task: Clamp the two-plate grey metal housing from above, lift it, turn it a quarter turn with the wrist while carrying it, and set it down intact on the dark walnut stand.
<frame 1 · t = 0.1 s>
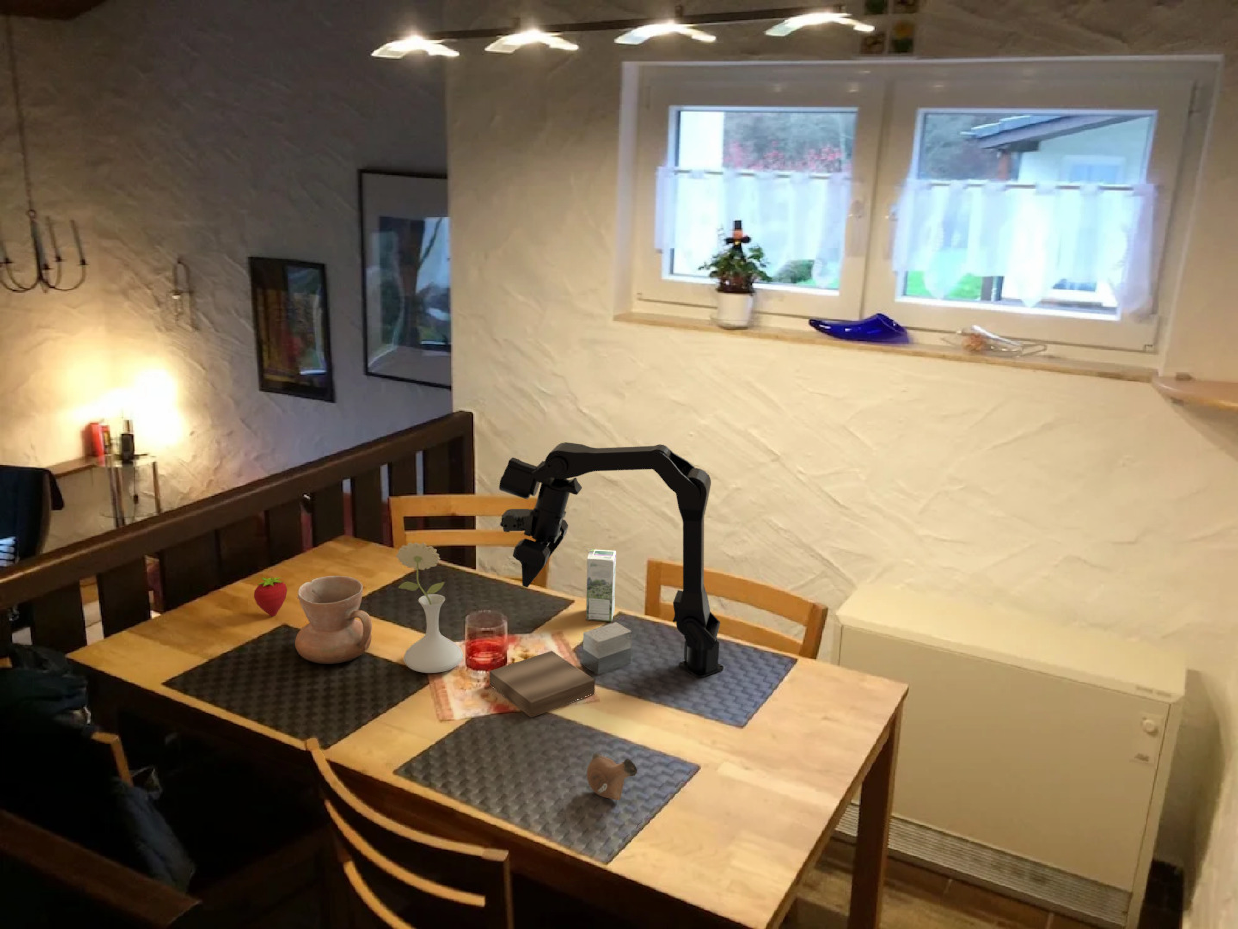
hand: (531, 577, 203), 15 cm above the table, tool pointing down, fingers open, 9 cm apart
stand: (541, 689, 191), on the table
housing: (606, 664, 201), on the table
ceramic jug: (336, 655, 203), on the table
flower in vase: (430, 664, 200), on the table
strawberry: (272, 616, 218), on the table
syrup box: (600, 616, 222), on the table
oil lamp: (610, 799, 160), on the table
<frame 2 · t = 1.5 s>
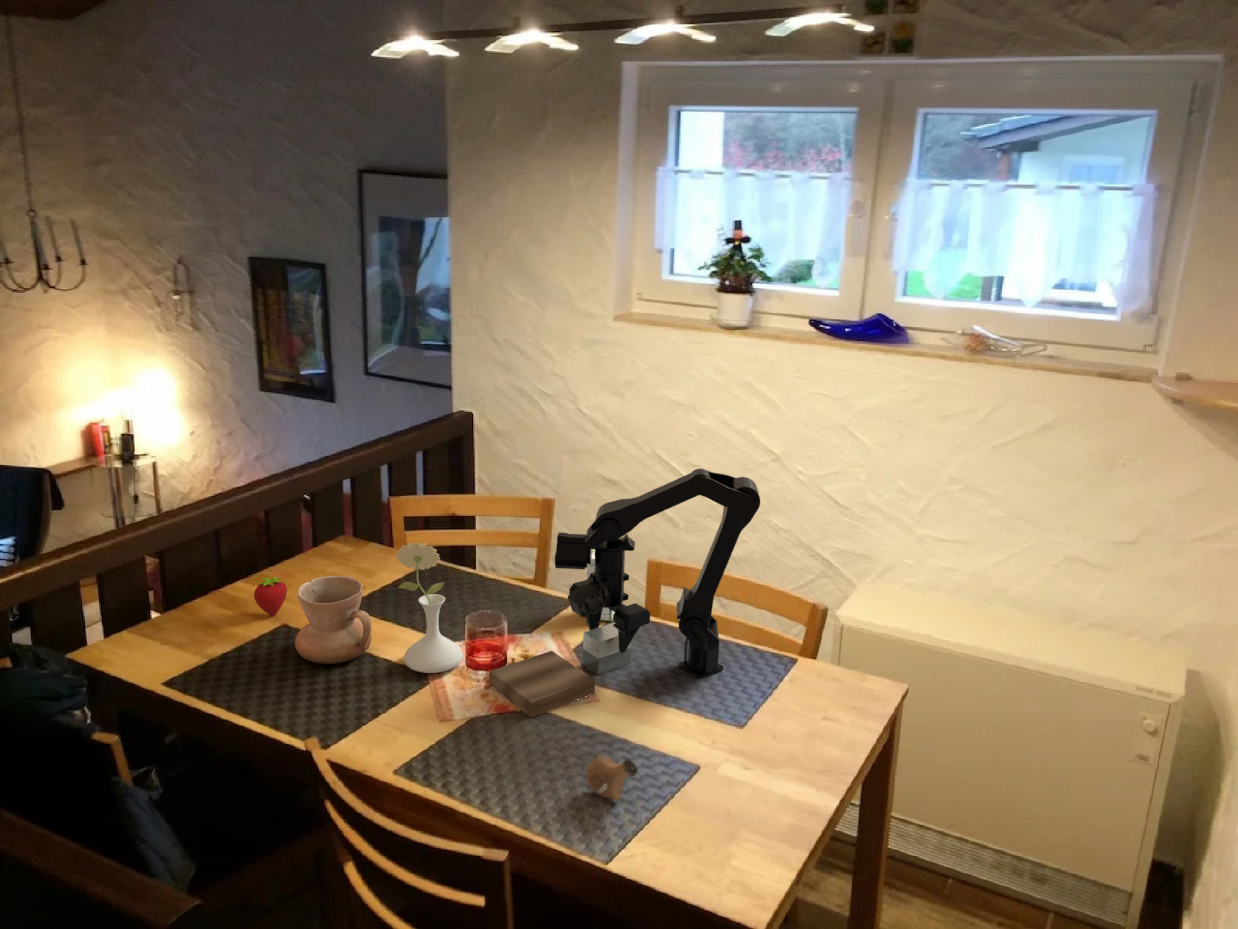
hand: (607, 643, 200), 4 cm above the table, tool pointing down, fingers open, 9 cm apart
nothing on the table moved.
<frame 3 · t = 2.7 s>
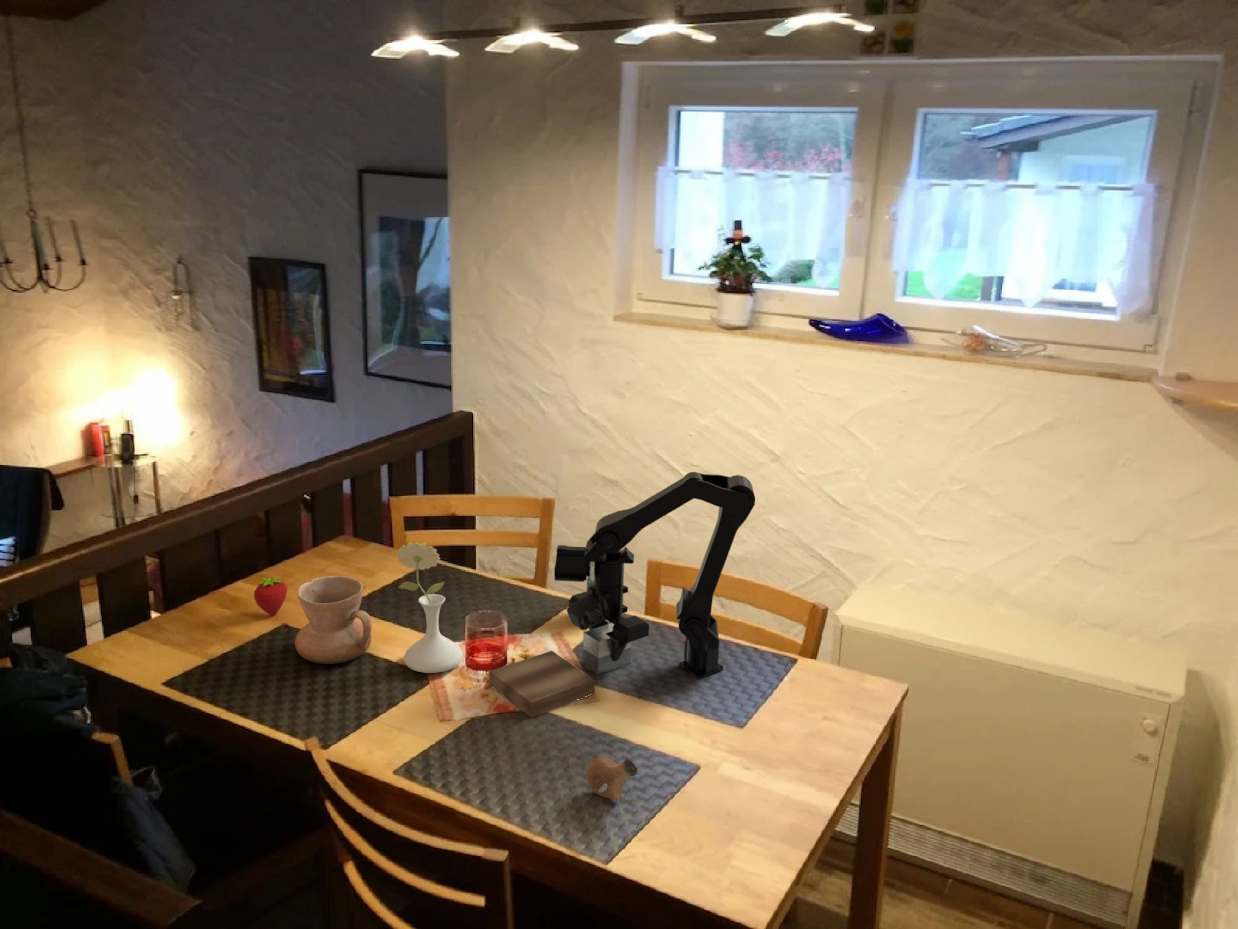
hand: (607, 655, 201), 2 cm above the table, tool pointing down, fingers closed on housing, 5 cm apart
housing: (606, 664, 201), on the table, touching gripper
everything else where it was.
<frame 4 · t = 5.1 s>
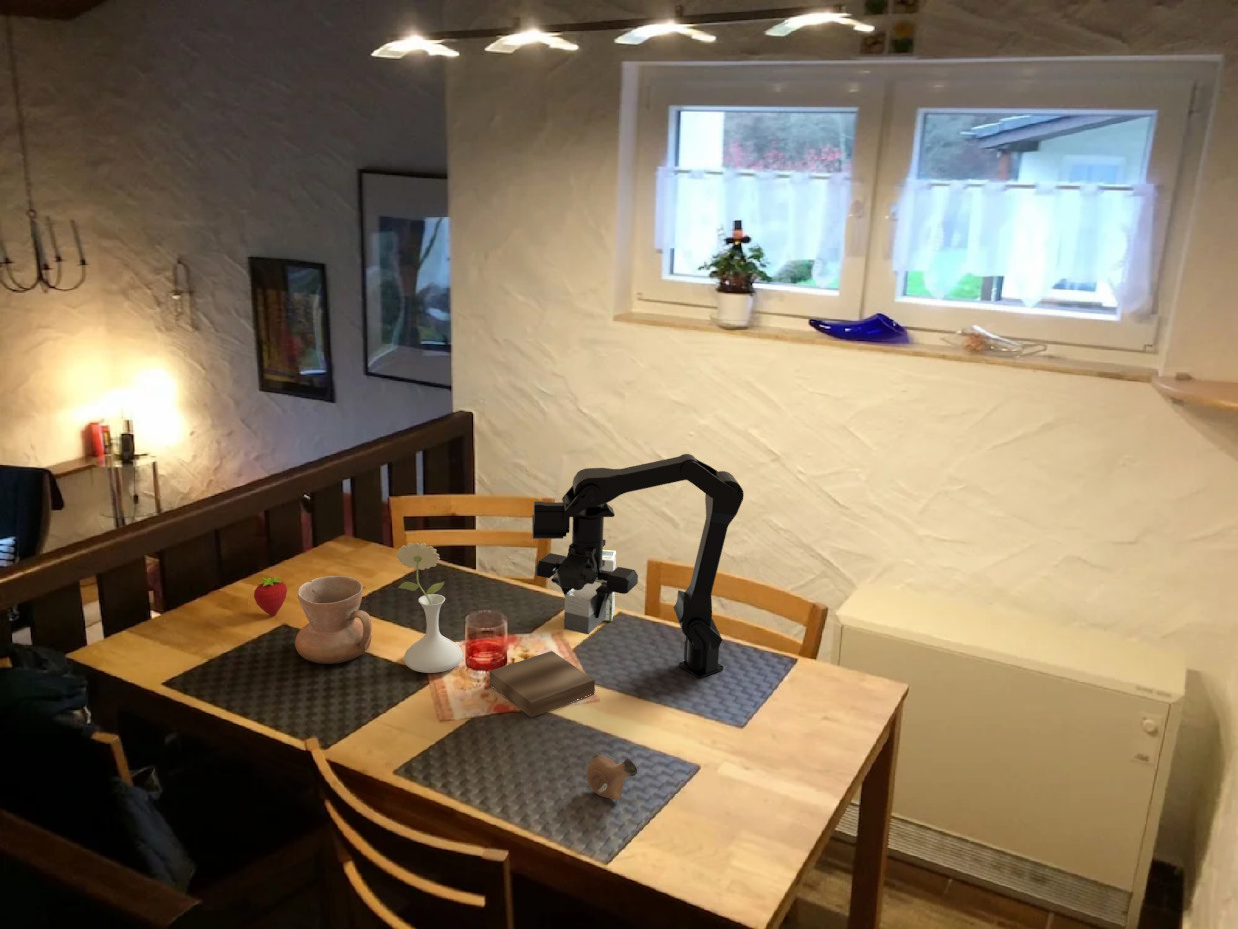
hand: (585, 614, 194), 12 cm above the table, tool pointing down, fingers closed on housing, 5 cm apart
housing: (585, 623, 195), point 10 cm above the table, touching gripper
everything else where it was.
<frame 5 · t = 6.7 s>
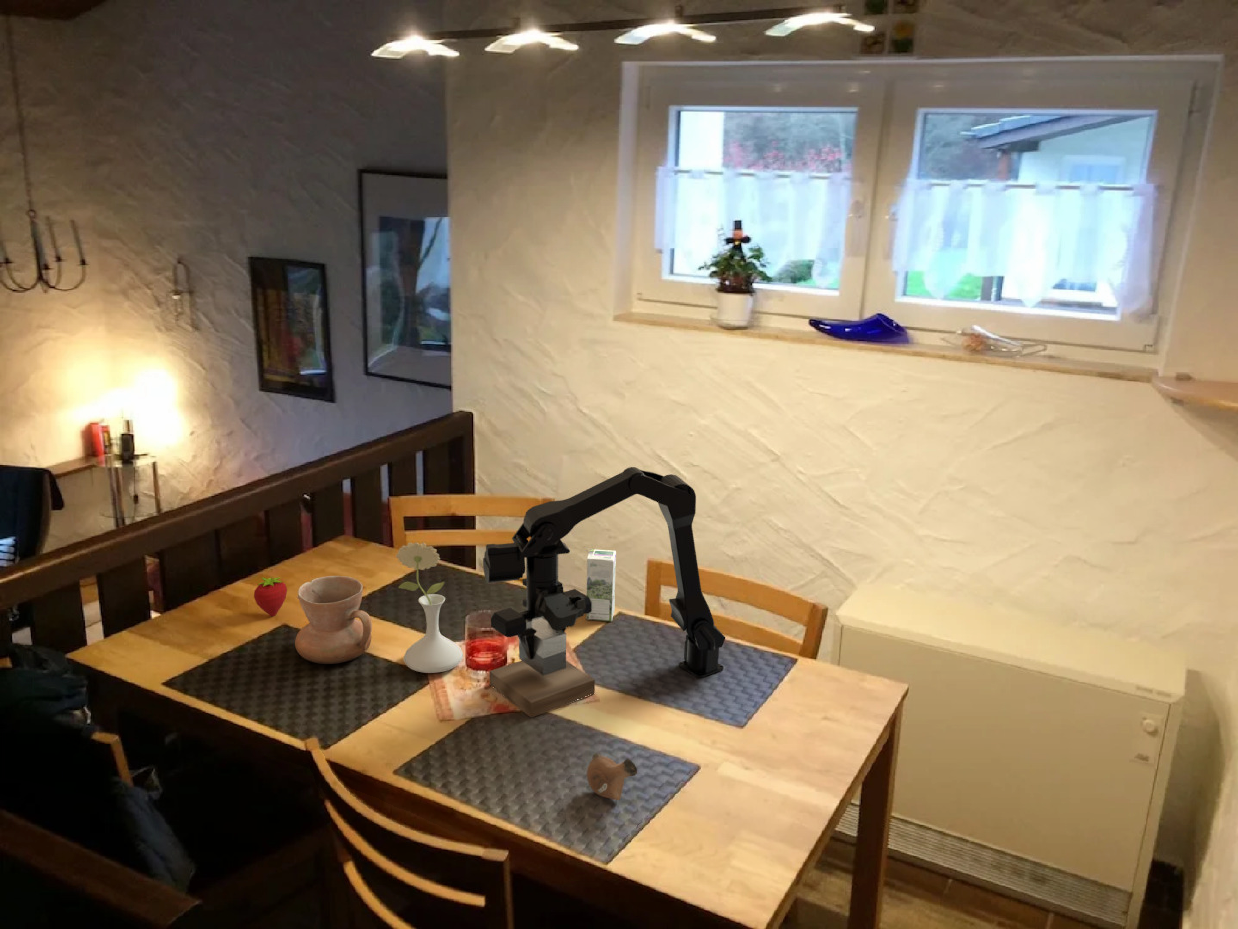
hand: (542, 654, 189), 7 cm above the table, tool pointing down, fingers closed on housing, 5 cm apart
housing: (542, 663, 190), point 5 cm above the table, touching gripper
everything else where it was.
when the fingers open (6 cm above the table, at t = 7.7 s): housing drops 1 cm, resting on stand.
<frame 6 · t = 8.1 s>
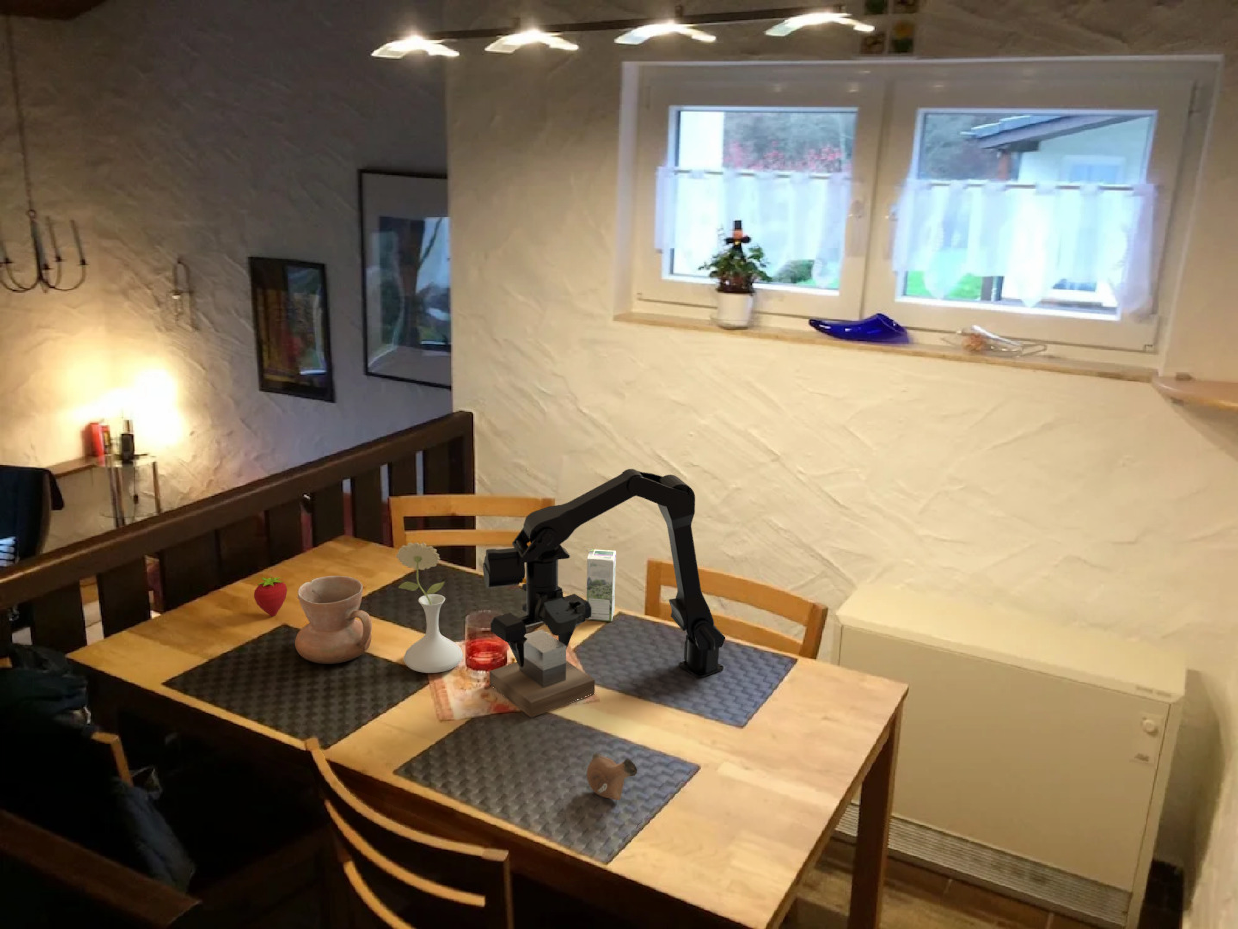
hand: (542, 659, 189), 6 cm above the table, tool pointing down, fingers open, 9 cm apart
housing: (542, 675, 190), point 3 cm above the table, touching stand
everything else where it was.
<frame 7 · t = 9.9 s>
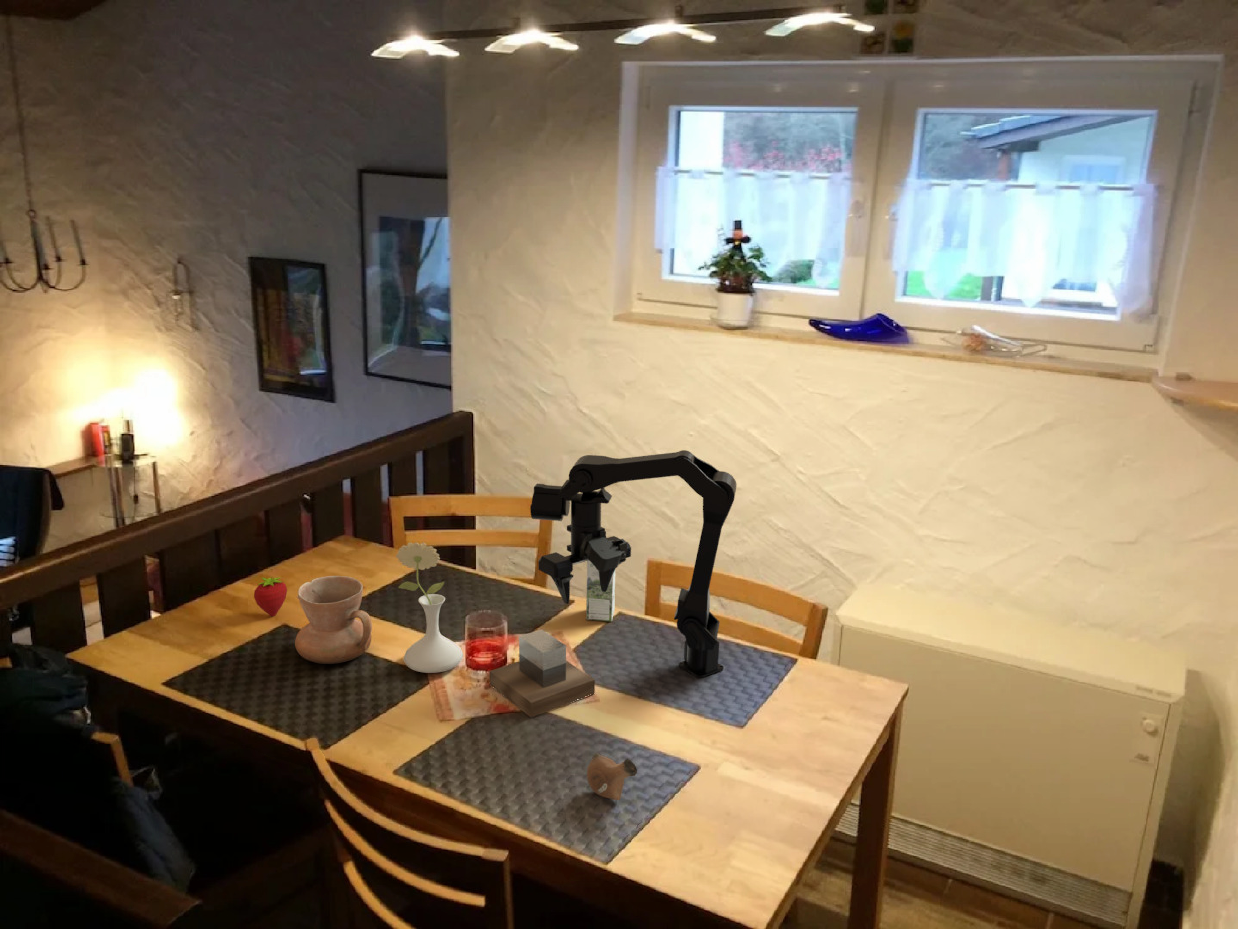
hand: (585, 597, 201), 13 cm above the table, tool pointing down, fingers open, 9 cm apart
nothing on the table moved.
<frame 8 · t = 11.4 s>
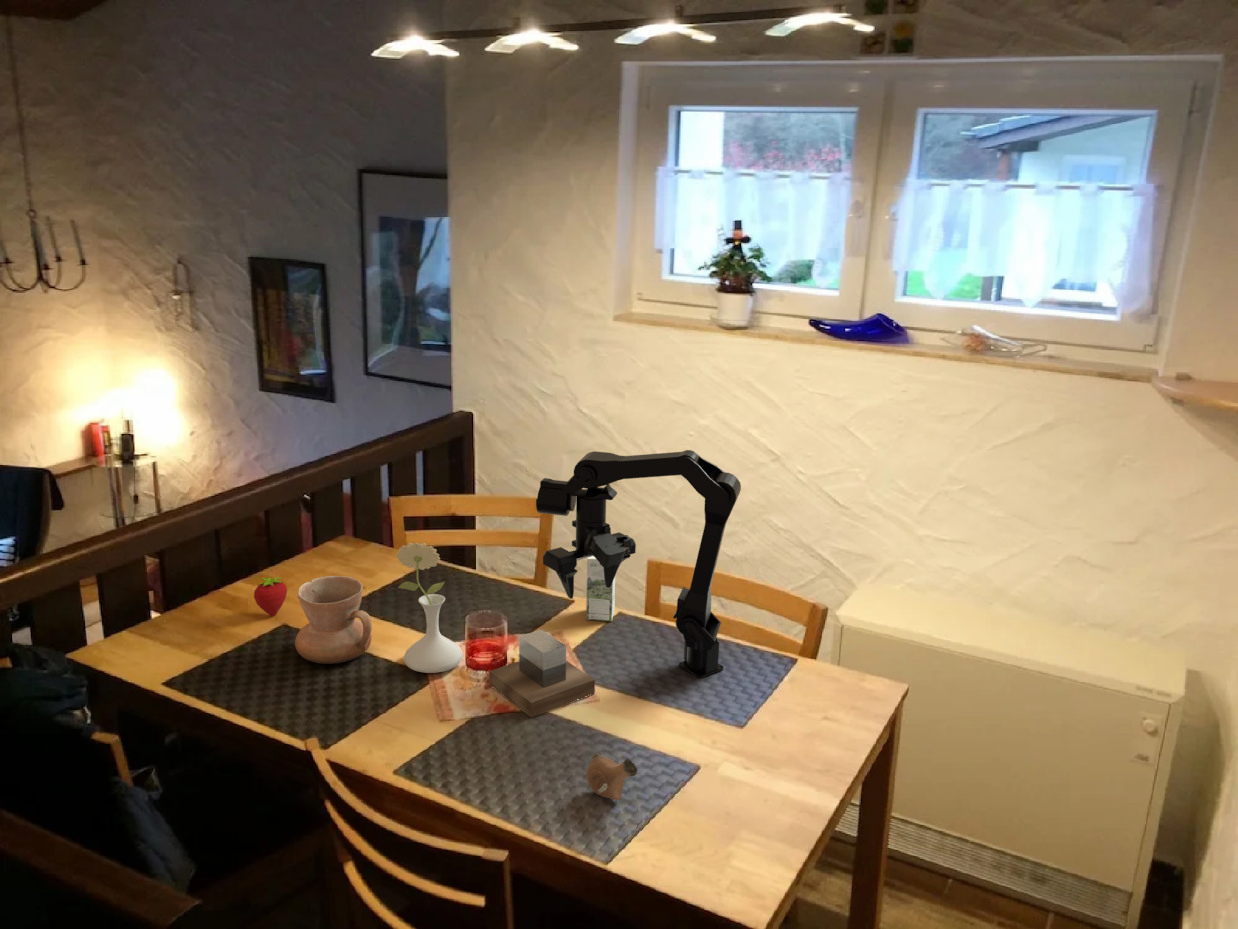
hand: (589, 592, 202), 13 cm above the table, tool pointing down, fingers open, 9 cm apart
nothing on the table moved.
at the end: housing inside the target area on the stand (0.1 cm from its centre), point 3.0 cm above the stand's base; housing tilted 0°; the gripper is holding nothing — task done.
